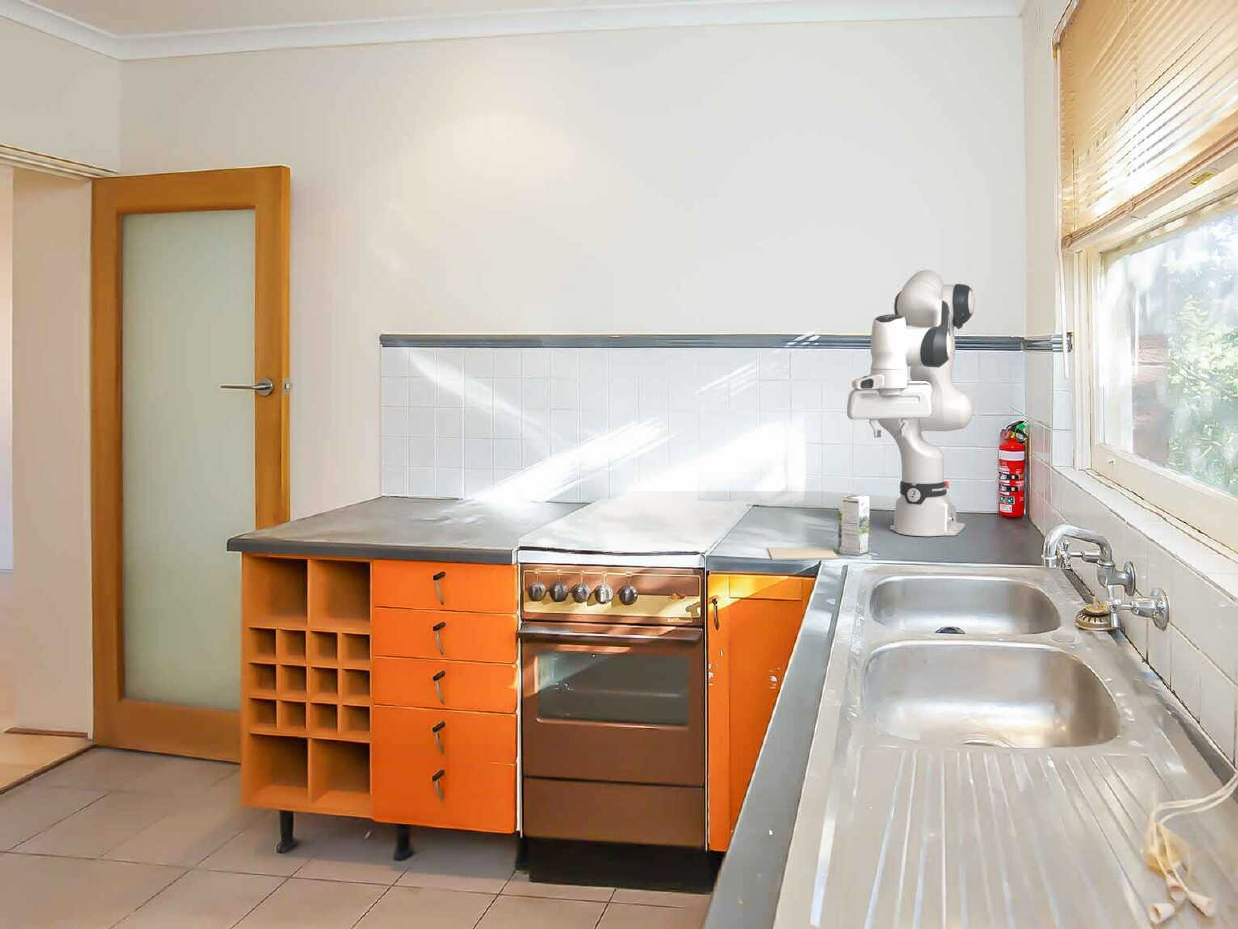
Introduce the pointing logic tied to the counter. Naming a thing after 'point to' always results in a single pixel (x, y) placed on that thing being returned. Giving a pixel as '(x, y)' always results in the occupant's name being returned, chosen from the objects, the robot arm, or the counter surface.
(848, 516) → the syrup box
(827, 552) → the mat
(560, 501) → the counter surface
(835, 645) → the counter surface
